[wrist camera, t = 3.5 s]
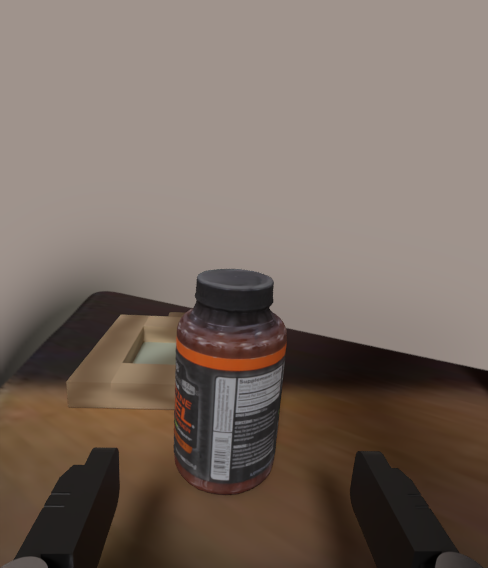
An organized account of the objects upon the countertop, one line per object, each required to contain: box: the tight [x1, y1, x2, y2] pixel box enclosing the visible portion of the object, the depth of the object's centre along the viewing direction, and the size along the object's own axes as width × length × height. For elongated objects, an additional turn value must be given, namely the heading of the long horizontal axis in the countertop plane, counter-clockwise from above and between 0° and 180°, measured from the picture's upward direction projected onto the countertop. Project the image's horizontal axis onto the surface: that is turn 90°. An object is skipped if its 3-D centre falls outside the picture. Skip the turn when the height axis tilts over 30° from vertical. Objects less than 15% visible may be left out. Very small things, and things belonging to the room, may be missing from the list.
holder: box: [66, 312, 185, 409], centre depth 33 cm, size 14×16×2 cm
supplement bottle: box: [174, 269, 287, 495], centre depth 20 cm, size 6×6×11 cm
